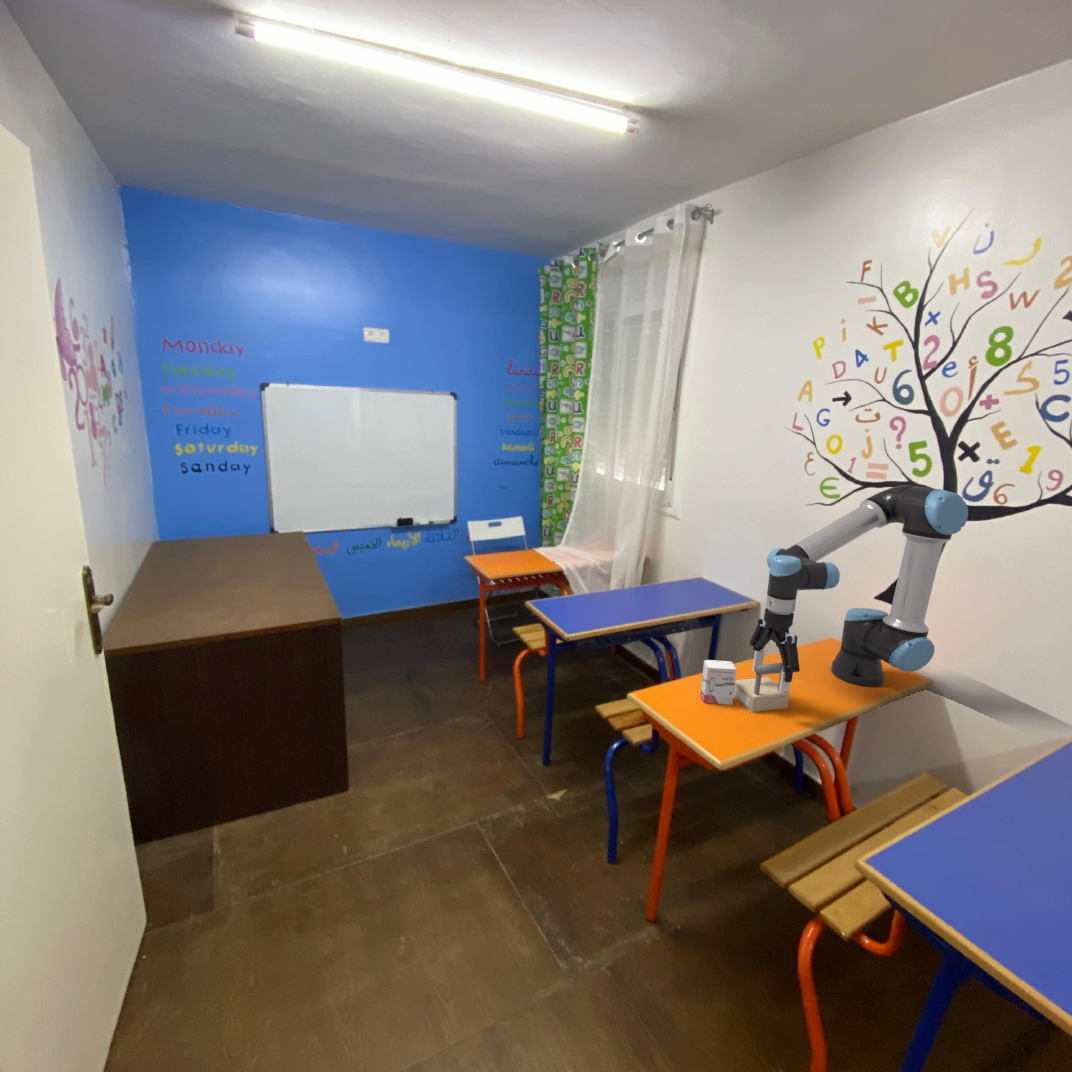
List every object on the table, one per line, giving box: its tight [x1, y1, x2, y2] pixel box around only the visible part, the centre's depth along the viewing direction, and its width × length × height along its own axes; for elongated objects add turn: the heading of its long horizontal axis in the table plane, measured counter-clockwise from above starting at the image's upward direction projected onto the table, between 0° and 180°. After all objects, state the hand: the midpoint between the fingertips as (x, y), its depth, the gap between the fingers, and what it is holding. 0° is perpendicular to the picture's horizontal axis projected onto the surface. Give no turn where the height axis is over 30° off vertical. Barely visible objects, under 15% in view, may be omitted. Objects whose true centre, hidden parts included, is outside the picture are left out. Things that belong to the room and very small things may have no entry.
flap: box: [735, 662, 790, 700], centre depth 159 cm, size 12×10×10 cm
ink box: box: [700, 659, 737, 706], centre depth 160 cm, size 9×5×12 cm, turn 85°
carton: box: [733, 685, 790, 713], centre depth 160 cm, size 12×10×4 cm
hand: (770, 680), depth 156 cm, fingers open, 11 cm apart
